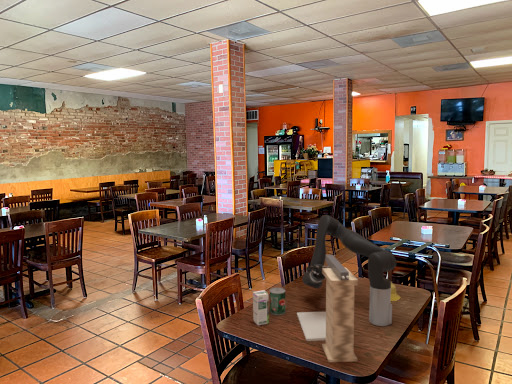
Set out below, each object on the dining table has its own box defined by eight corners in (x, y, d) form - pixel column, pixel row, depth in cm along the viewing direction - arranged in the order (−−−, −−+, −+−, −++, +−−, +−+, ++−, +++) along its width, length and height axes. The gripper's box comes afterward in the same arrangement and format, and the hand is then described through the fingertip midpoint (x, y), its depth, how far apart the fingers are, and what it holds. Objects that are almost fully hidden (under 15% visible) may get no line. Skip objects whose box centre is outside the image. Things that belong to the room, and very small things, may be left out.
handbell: (397, 304, 194) (398, 257, 192) (373, 298, 202) (374, 253, 199) (404, 296, 204) (405, 251, 202) (381, 291, 212) (382, 248, 209)
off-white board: (333, 313, 184) (333, 311, 184) (348, 339, 159) (348, 337, 159) (296, 314, 184) (296, 312, 184) (306, 341, 158) (306, 338, 158)
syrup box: (257, 326, 172) (257, 295, 170) (253, 320, 178) (252, 291, 176) (269, 323, 174) (268, 293, 173) (264, 318, 180) (263, 289, 178)
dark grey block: (332, 261, 162) (332, 254, 162) (350, 281, 136) (350, 273, 136) (325, 261, 162) (325, 254, 161) (342, 282, 136) (342, 274, 136)
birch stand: (346, 341, 157) (347, 267, 153) (358, 361, 142) (359, 279, 138) (320, 342, 156) (320, 268, 153) (329, 363, 141) (329, 280, 138)
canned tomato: (286, 314, 183) (286, 293, 182) (270, 315, 183) (269, 293, 182) (284, 308, 191) (284, 287, 190) (269, 308, 191) (269, 287, 190)
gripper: (303, 266, 186) (308, 258, 171) (331, 265, 186) (339, 257, 172) (304, 281, 183) (310, 275, 168) (333, 281, 183) (341, 274, 169)
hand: (324, 266), depth 170 cm, fingers open, 8 cm apart
